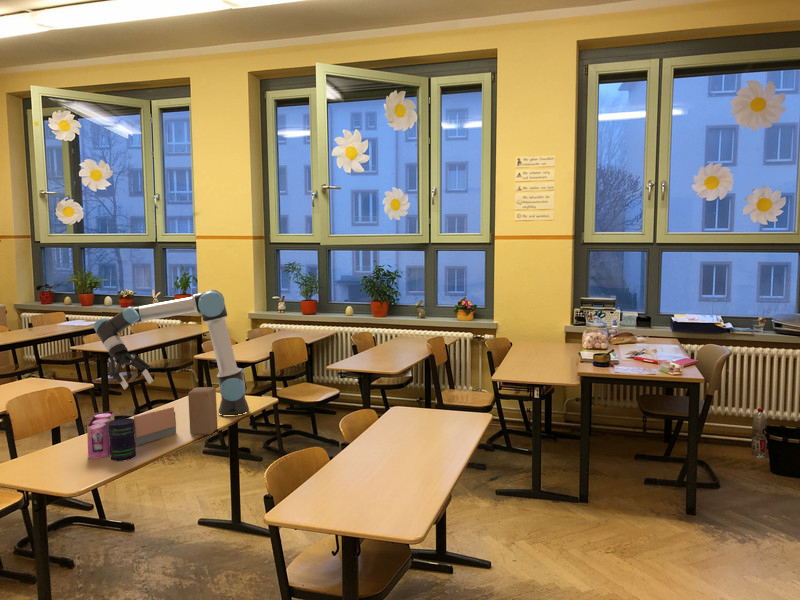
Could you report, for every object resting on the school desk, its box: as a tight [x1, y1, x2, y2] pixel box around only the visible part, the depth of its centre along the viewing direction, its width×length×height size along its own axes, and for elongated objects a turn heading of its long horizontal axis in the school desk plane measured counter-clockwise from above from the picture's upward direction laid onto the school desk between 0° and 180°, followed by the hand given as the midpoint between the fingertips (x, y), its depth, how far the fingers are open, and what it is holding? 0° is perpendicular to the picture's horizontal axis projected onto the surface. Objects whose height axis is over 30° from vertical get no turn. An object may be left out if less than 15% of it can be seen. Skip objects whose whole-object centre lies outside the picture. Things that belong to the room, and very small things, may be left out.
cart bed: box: [134, 411, 177, 447], centre depth 276 cm, size 22×9×10 cm, turn 146°
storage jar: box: [108, 417, 137, 462], centre depth 252 cm, size 10×10×15 cm
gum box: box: [86, 410, 115, 459], centre depth 261 cm, size 24×8×14 cm, turn 18°
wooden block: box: [187, 386, 218, 436], centre depth 284 cm, size 10×10×20 cm
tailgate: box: [133, 406, 176, 438], centre depth 273 cm, size 19×1×9 cm, turn 146°
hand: (139, 384), depth 277 cm, fingers open, 13 cm apart
